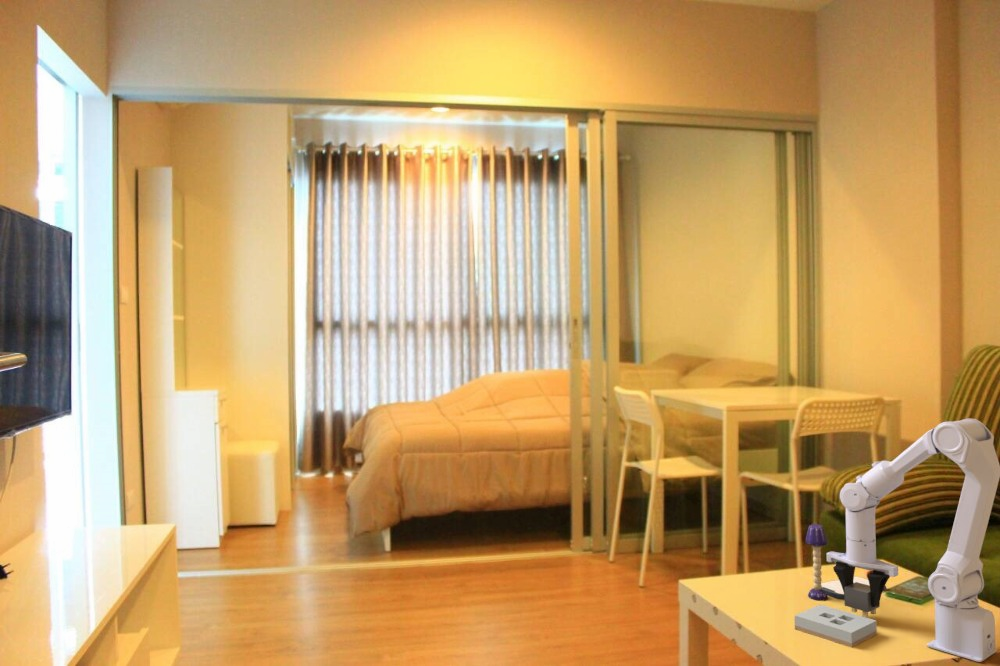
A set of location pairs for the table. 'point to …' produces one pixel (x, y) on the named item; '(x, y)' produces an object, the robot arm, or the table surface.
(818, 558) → the toy lamp
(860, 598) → the plug
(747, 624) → the table surface
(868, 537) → the robot arm
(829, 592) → the phone case
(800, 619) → the socket
